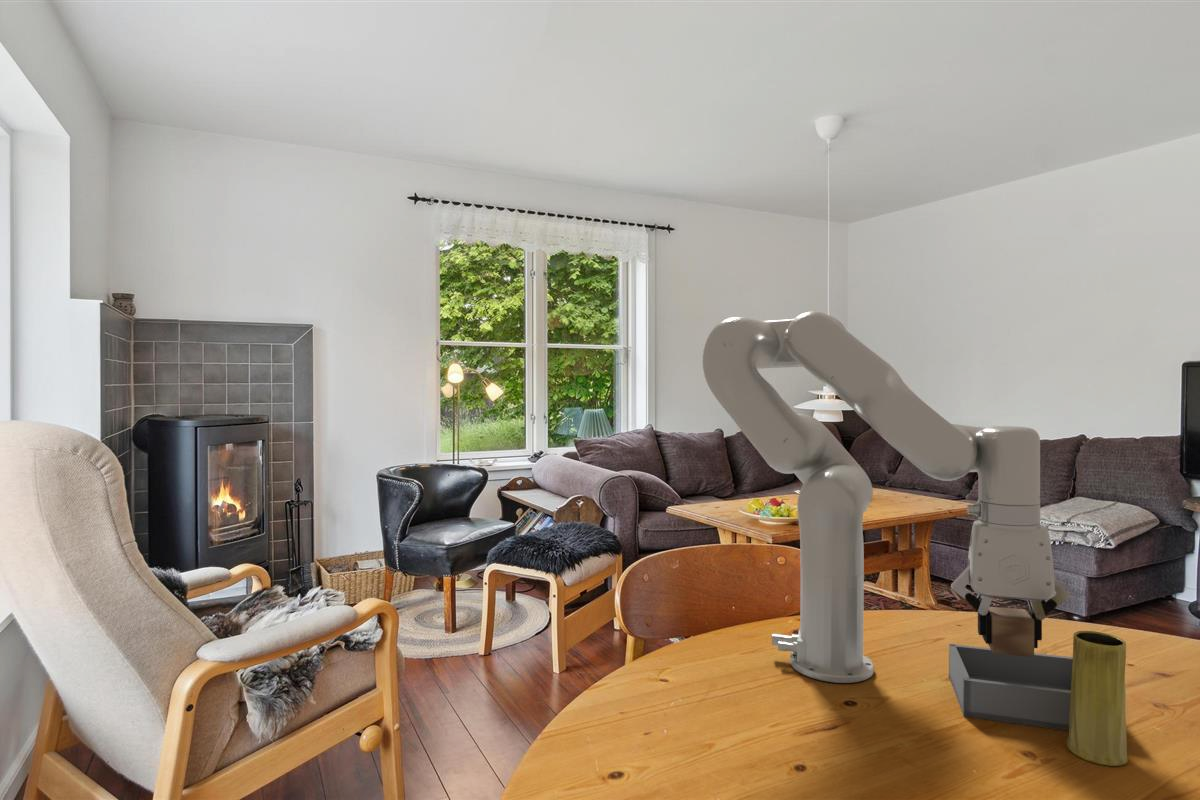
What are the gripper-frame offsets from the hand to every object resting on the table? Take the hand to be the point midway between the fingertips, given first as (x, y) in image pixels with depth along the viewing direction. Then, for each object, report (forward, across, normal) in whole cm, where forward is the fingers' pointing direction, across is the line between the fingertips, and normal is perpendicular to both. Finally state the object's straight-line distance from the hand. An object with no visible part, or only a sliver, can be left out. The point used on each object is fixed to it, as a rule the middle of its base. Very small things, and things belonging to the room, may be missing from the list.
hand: (1009, 641), depth 99 cm
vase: (+9, +7, -12) cm, 17 cm away
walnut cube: (+1, 0, 0) cm, 1 cm away
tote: (+9, +2, 0) cm, 9 cm away
